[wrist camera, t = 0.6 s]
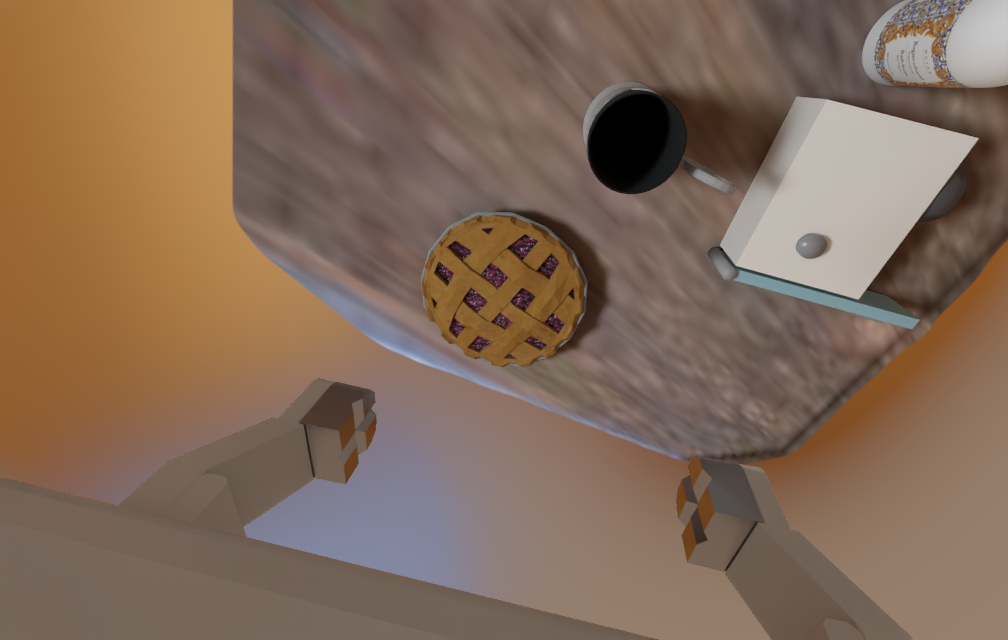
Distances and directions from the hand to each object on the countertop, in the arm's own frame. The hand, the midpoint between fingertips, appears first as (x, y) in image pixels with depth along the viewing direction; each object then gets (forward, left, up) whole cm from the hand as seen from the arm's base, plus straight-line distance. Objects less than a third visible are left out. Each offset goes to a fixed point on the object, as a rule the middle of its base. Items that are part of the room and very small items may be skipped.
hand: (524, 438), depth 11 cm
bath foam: (-17, +25, -44) cm, 54 cm away
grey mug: (-4, +6, -44) cm, 45 cm away
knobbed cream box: (-3, +27, -44) cm, 52 cm away
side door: (+6, +28, -44) cm, 53 cm away
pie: (+18, -5, -45) cm, 48 cm away
